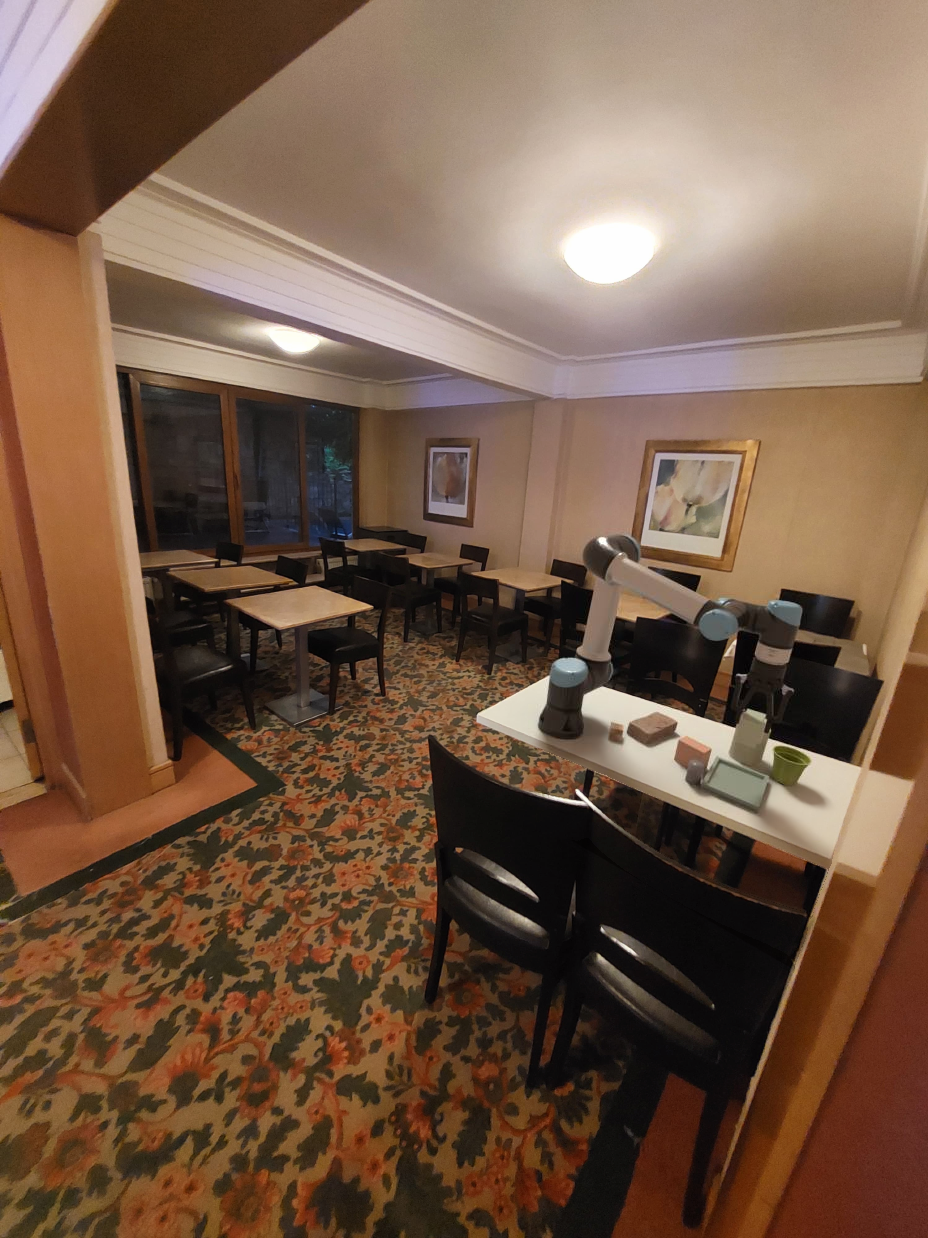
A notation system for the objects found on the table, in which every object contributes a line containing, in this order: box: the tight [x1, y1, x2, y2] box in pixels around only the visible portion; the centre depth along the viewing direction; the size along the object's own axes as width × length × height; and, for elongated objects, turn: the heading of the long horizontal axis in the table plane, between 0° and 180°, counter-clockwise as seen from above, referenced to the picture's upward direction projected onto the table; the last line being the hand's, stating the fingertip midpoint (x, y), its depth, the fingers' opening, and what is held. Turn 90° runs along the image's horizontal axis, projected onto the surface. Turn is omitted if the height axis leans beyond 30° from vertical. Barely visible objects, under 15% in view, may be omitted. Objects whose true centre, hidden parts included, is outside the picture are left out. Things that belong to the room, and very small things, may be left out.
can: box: [728, 723, 772, 767], centre depth 145 cm, size 9×9×12 cm
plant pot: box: [771, 744, 813, 787], centre depth 135 cm, size 9×9×9 cm
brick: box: [626, 711, 678, 745], centre depth 157 cm, size 17×8×5 cm, turn 123°
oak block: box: [608, 721, 625, 742], centre depth 153 cm, size 4×4×4 cm
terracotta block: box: [673, 735, 713, 771], centre depth 140 cm, size 4×8×7 cm, turn 35°
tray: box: [699, 755, 770, 814], centre depth 132 cm, size 14×18×2 cm
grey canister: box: [684, 760, 705, 787], centre depth 132 cm, size 4×4×6 cm
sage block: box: [736, 708, 767, 748], centre depth 127 cm, size 4×8×7 cm, turn 140°
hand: (748, 737), depth 128 cm, fingers closed on sage block, 4 cm apart
